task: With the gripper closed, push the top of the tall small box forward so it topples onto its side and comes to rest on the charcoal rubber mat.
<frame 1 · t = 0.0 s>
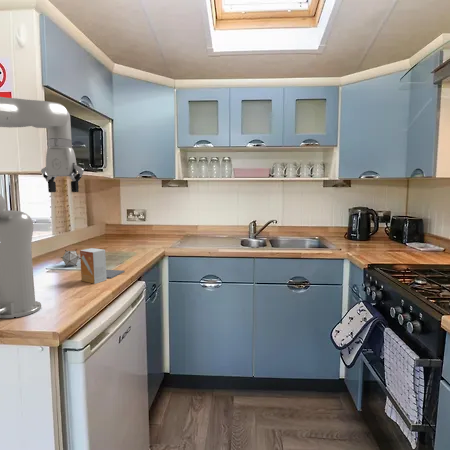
hand: (63, 192, 123), 37 cm above the worktop, tool pointing down, fingers open, 9 cm apart
rubber mat: (107, 274, 148), on the worktop
small box: (94, 281, 138), on the worktop
game die: (71, 266, 164), on the worktop
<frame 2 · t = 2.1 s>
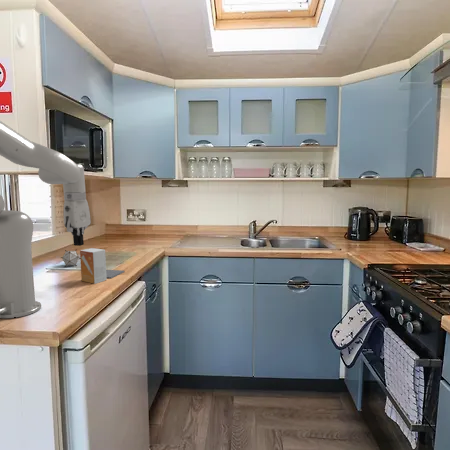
hand: (78, 245, 128), 16 cm above the worktop, tool pointing down, fingers closed
nothing on the worktop moved.
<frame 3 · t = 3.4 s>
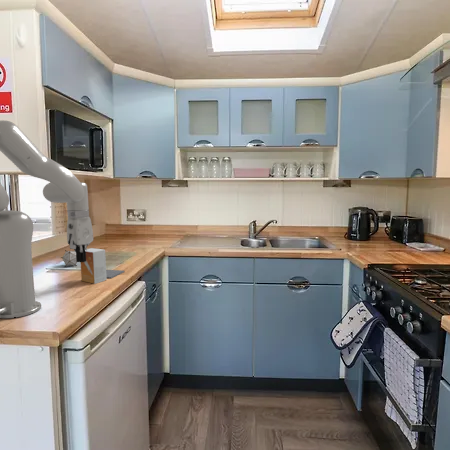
hand: (81, 261, 130), 10 cm above the worktop, tool pointing down, fingers closed
nothing on the worktop moved.
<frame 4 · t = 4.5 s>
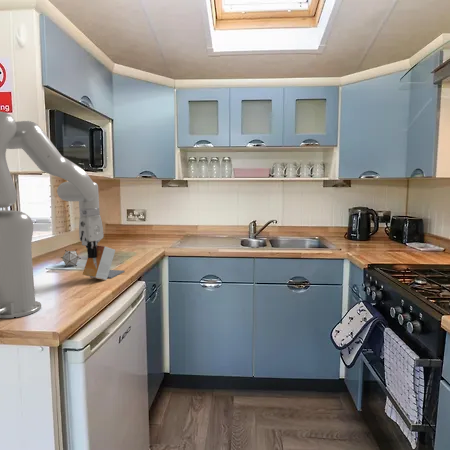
hand: (92, 257, 136), 10 cm above the worktop, tool pointing down, fingers closed
small box: (94, 277, 138), point 1 cm above the worktop
everything else where it was.
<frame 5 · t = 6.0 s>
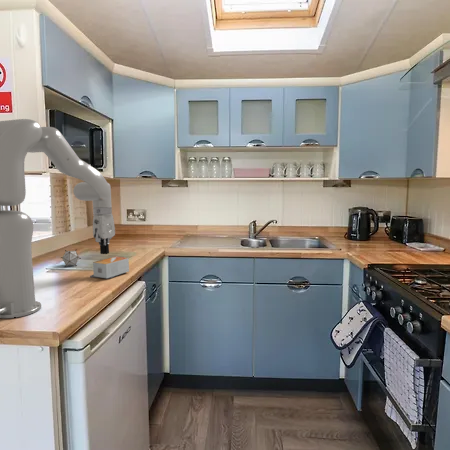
hand: (104, 253, 145), 10 cm above the worktop, tool pointing down, fingers closed
small box: (99, 270, 140), point 4 cm above the worktop, touching rubber mat
everything else where it was.
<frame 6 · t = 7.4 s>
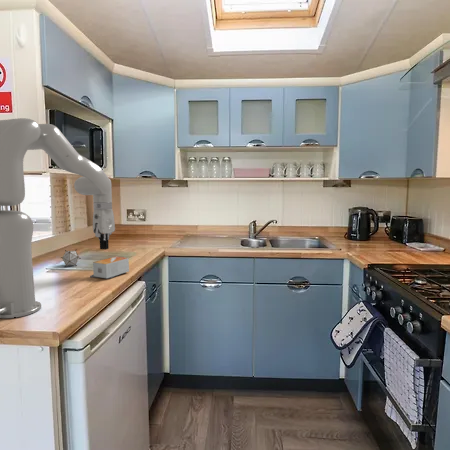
hand: (104, 249, 145), 12 cm above the worktop, tool pointing down, fingers closed
nothing on the worktop moved.
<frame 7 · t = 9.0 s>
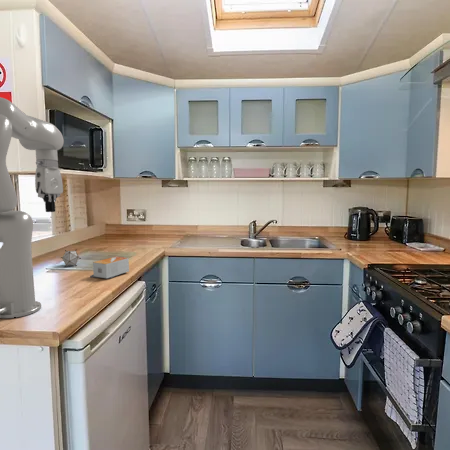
hand: (50, 211, 133), 29 cm above the worktop, tool pointing down, fingers closed
nothing on the worktop moved.
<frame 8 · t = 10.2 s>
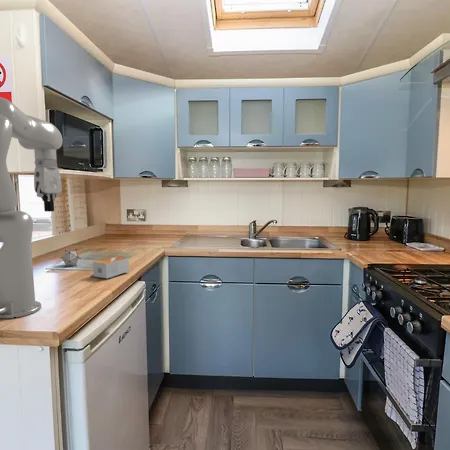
hand: (49, 211, 133), 29 cm above the worktop, tool pointing down, fingers closed
nothing on the worktop moved.
at the end: small box tilted 90°; small box touching rubber mat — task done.
